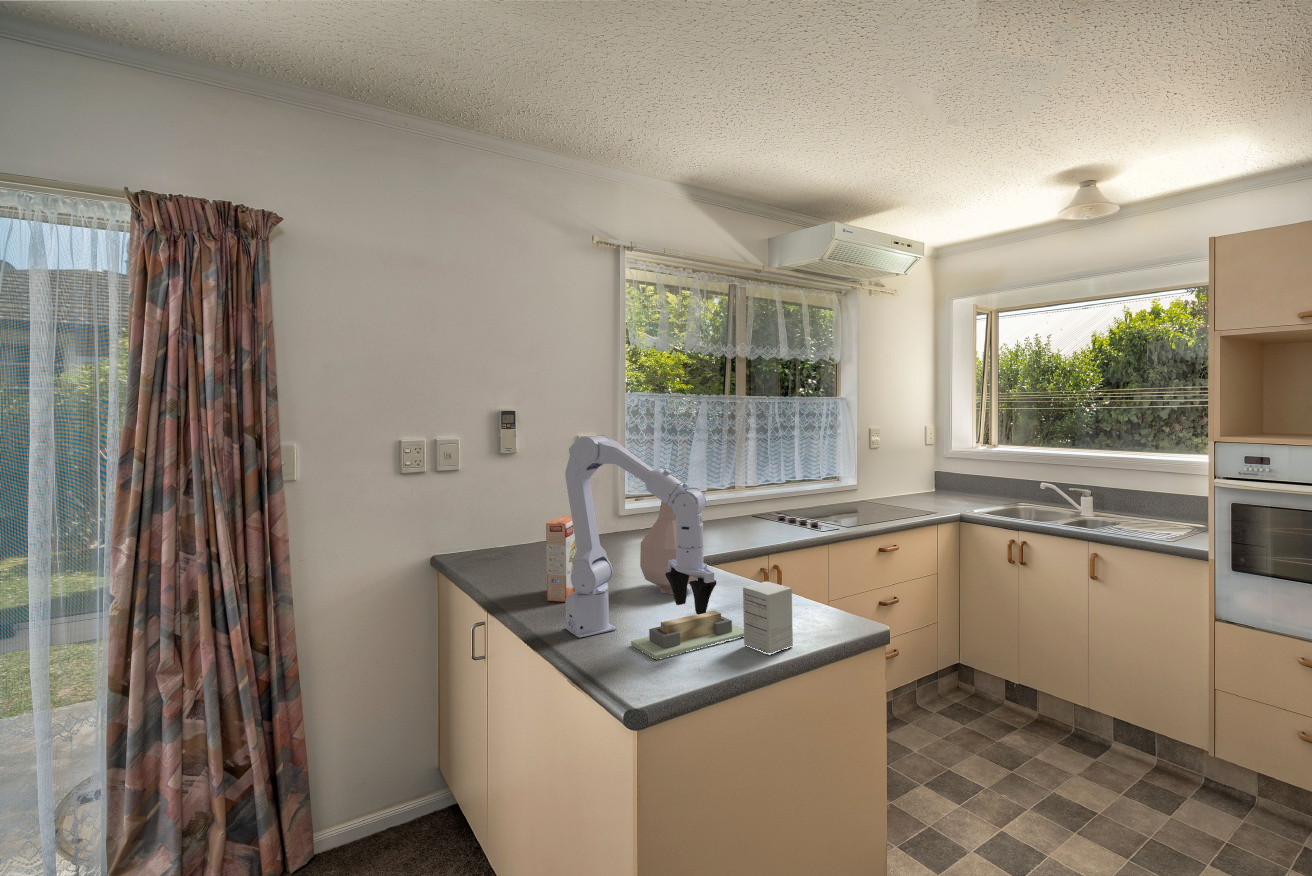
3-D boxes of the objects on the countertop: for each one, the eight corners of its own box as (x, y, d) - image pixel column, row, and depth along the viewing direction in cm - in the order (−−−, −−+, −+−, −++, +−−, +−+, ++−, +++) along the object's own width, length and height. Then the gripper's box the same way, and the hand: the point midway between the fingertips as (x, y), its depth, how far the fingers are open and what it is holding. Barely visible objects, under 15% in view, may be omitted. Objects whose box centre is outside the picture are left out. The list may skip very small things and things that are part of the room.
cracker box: (568, 602, 165) (566, 523, 164) (546, 602, 166) (544, 522, 165) (584, 588, 179) (582, 514, 178) (564, 587, 180) (562, 514, 179)
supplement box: (767, 638, 136) (766, 580, 136) (793, 648, 131) (793, 587, 130) (742, 646, 132) (741, 586, 132) (768, 656, 126) (768, 594, 126)
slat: (667, 644, 131) (667, 625, 131) (661, 641, 133) (660, 622, 133) (721, 631, 138) (721, 613, 138) (714, 628, 140) (714, 610, 140)
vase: (649, 602, 164) (647, 487, 163) (633, 584, 181) (631, 480, 180) (713, 595, 169) (711, 483, 168) (691, 579, 186) (690, 477, 185)
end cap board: (656, 660, 125) (655, 643, 125) (631, 645, 134) (630, 629, 134) (749, 636, 138) (749, 620, 138) (721, 623, 146) (721, 608, 146)
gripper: (725, 549, 131) (726, 614, 131) (686, 537, 143) (686, 597, 144) (698, 553, 127) (698, 620, 128) (659, 541, 139) (660, 602, 140)
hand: (690, 608), depth 135 cm, fingers open, 7 cm apart
